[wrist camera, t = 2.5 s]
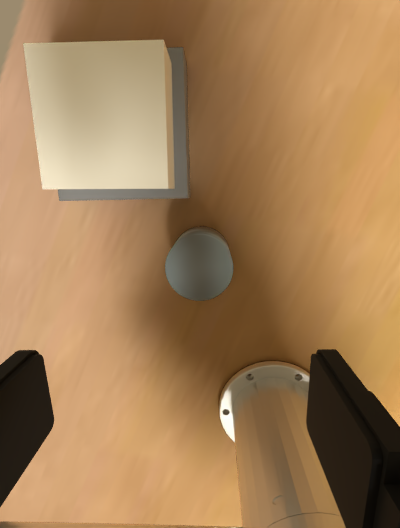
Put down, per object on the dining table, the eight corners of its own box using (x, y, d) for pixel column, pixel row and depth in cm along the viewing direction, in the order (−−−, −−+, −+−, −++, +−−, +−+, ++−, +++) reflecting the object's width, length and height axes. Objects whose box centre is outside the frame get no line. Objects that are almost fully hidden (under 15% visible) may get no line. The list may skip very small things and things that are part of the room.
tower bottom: (187, 66, 28) (183, 47, 24) (190, 197, 31) (187, 198, 27) (63, 72, 28) (39, 53, 24) (78, 199, 31) (59, 200, 27)
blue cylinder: (229, 225, 31) (233, 234, 25) (229, 280, 32) (233, 300, 26) (172, 226, 31) (163, 235, 25) (175, 281, 33) (167, 301, 27)
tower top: (171, 63, 24) (163, 39, 20) (174, 188, 27) (168, 188, 23) (52, 66, 25) (23, 43, 21) (66, 189, 27) (42, 189, 23)
